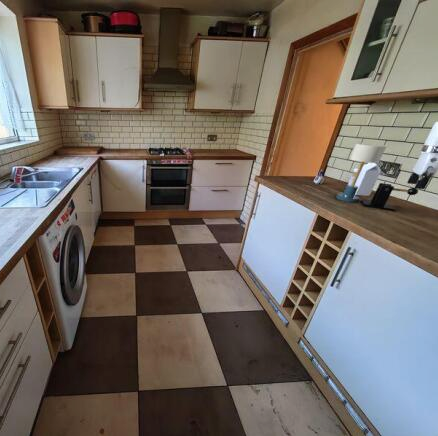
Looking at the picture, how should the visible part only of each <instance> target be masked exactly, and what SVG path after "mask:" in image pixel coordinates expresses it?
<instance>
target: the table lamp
mask: <svg viewBox="0 0 438 436" xmlns="http://www.w3.org/2000/svg"><path fill="white" fill-rule="evenodd" d="M386 148H387V145H384V144H378V143H367V142H366V143H365V142H356V143H355V144H354V146H353V149H352V151H351V154H350V156H349V160H351V161H356V162H360V164H359V166H358V171H357V173H356V175H355V178H354V180H353V182H352V185H348V184H346V186H345V188H344V191H343V192H340V193H339V192H338V193H337V194H336V196H335V198H336V199H337V200H339V201H342V202H347V203H359V201H360V200H361V199H360V197H359V195H355V193H356V191H357V189H358V186H356V185H355V183H356V181H357V179H358V176H359V174H360V172H361V170H362V167H363V166H364V165H365V163H376V164H377V163H380V161H381V159H382V157H383V154H384V152H385V151H386Z"/></svg>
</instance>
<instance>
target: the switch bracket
mask: <svg viewBox="0 0 438 436" xmlns="http://www.w3.org/2000/svg"><path fill="white" fill-rule="evenodd" d="M393 188H395V186H394V185H392V184H391V183H383V182H379V184H378V186H377V188H376V190H375V192H374V194H373V196H372V199H371V200H369V199H363V198H362V199H360V200H359V201H360V203H361V205H362V206H363V207H367V208H372V209H378V210H383V211H390V212H395V211H396V208H394V206H393V205H392V204H391V203H387V202H388V200H389V198H390V196H391V194H392V192H393V191H394V190H393Z"/></svg>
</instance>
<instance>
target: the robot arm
mask: <svg viewBox="0 0 438 436" xmlns="http://www.w3.org/2000/svg"><path fill="white" fill-rule="evenodd" d="M420 153H421V154H420V155H419V157H418V159H417V161H416V162H415V164H414V167H413V169H412V172H411V173H410V175H409V178H408V180H407V182H406V183H407V184H409V185H415V186H414V188H416V189H417V190H425V189H426V188H427V185H428V183H429V182H430V180H431V178H432V177H435V176H436V174H437V172H438V121H436V122H435V123H434V124H433V126H432V128H431V130H430V132H429V133H428V136H427V137H426V140H425V141H424V143H423V146H422V148H421V150H420Z"/></svg>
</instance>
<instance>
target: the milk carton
mask: <svg viewBox="0 0 438 436" xmlns="http://www.w3.org/2000/svg"><path fill="white" fill-rule="evenodd" d="M380 175H381V170H380V168H379V166H378V164H377V163H369V162H367V163H366V164H364V165H363V167H362V170H361V172H360V174H359V176H358V179H357V181H356V183H355V185H356V186H358V189H357V191H356V193H355V196H364V197H370V195H371V193H372V191H373V189H374V187H375V185H376V183H377V181H378V179H379V177H380Z"/></svg>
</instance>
